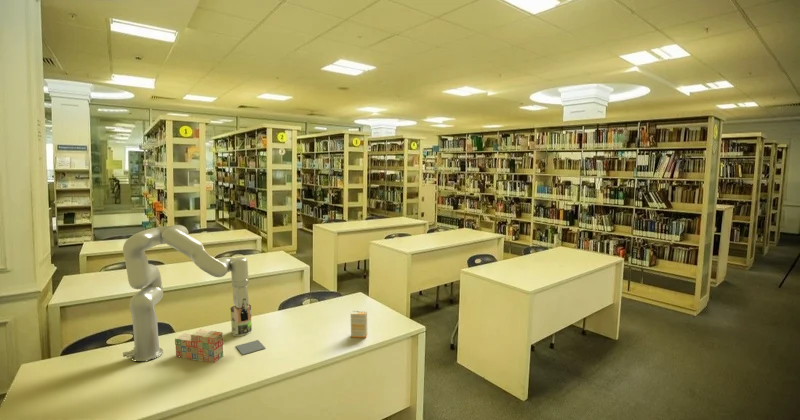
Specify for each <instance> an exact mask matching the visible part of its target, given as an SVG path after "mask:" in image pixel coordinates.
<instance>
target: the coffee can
mask: <svg viewBox="0 0 800 420" xmlns="http://www.w3.org/2000/svg"><path fill="white" fill-rule="evenodd" d="M234 306H235V305H232V306H231V307H230V321H231V323H230V324H231V325H230V326H231V335H232V336H235V337H242V336H247V335H249V334H251V333H252V331H253V328H252V327H253V326H252V325H253V324H252V320H251V321H247V322H243V323H239V324H238V323H237V322H236V321H235V320H234ZM249 306H250V316H251V317H252V305H251V304H249Z"/></svg>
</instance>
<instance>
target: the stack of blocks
mask: <svg viewBox="0 0 800 420" xmlns="http://www.w3.org/2000/svg"><path fill="white" fill-rule="evenodd" d="M223 336H224V335H223V331H222V332H221V331H217V330H209V329H208V330H207V329H206V330H205V329H202V328H201V329H199V330H197V331H195V332H193V333H185V332H184V333H183V334H181V335H179V336H177V337H176V338H175V339H174V344H175V357H176V356H180V357H179V358H181V357H184V358H183V359H186V358H189V359H188V360H193V359H196V360H195V361H200V360H202V362H206V361H207V363H212V364H215V363H216V362H217V361H219V360H220V359H222V358H223V357H224V340H223V339H224V338H223Z"/></svg>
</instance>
